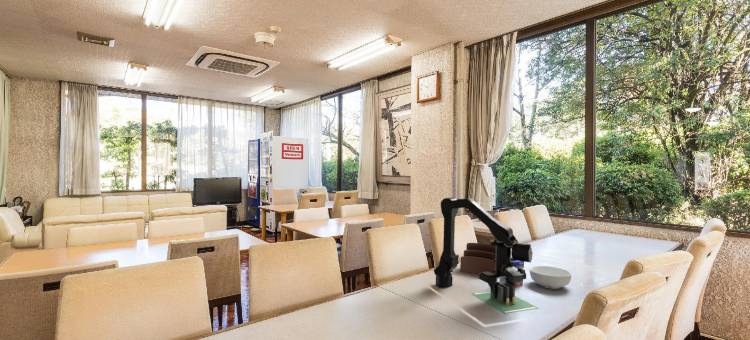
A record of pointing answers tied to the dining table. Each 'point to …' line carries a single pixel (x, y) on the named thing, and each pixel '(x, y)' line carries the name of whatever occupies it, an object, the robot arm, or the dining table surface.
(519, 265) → the ink cartridge box
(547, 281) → the cereal bowl
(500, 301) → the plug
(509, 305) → the board
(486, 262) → the letter holder
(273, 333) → the dining table surface
